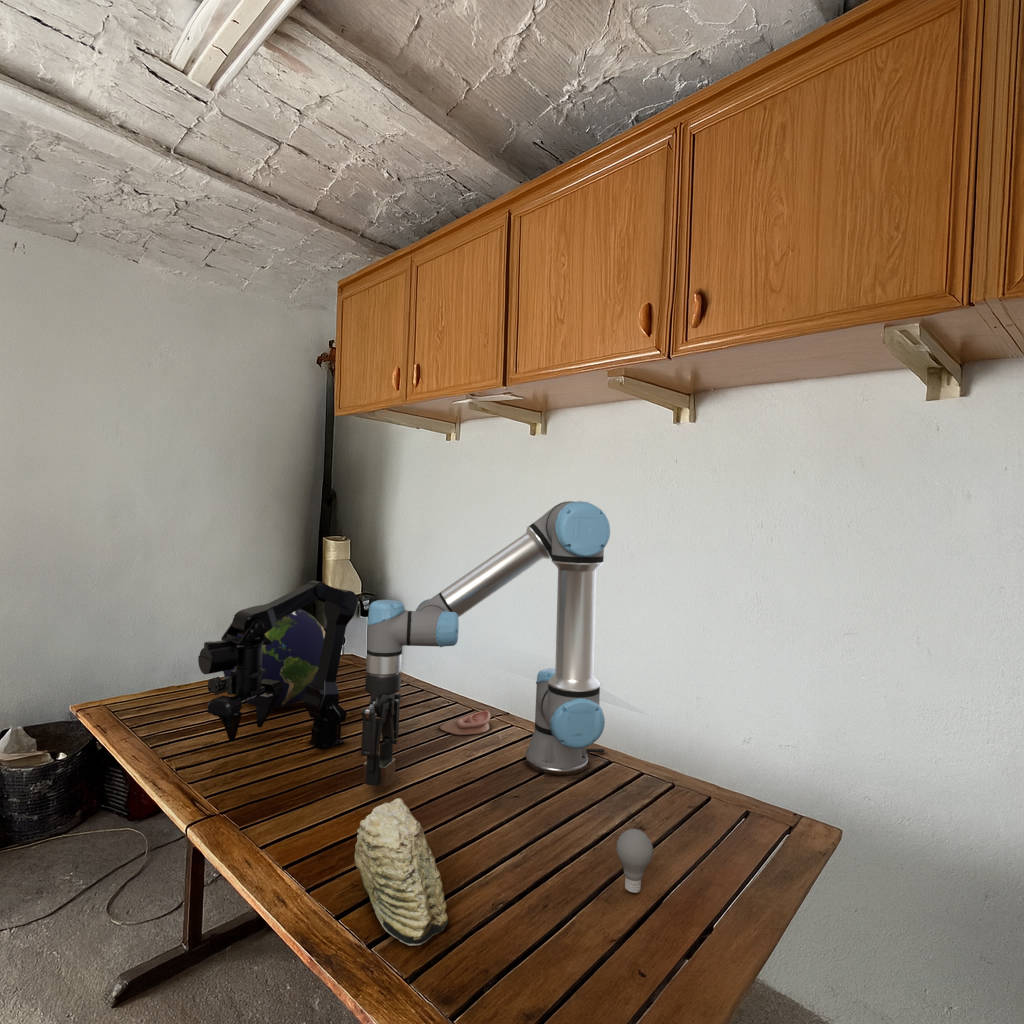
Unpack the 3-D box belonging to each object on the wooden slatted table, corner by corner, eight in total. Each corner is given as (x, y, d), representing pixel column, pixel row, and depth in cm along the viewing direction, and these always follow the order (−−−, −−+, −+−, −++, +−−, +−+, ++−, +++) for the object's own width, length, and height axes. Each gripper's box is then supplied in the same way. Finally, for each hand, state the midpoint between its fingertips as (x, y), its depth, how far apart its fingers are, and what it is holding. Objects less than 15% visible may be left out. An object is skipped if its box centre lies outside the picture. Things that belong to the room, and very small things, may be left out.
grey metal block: (374, 773, 140) (374, 754, 140) (394, 777, 139) (395, 758, 139) (362, 783, 135) (363, 763, 135) (383, 787, 134) (384, 767, 134)
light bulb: (610, 879, 108) (613, 822, 108) (644, 879, 109) (647, 822, 109) (619, 902, 102) (622, 840, 102) (655, 901, 103) (658, 840, 103)
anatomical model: (436, 717, 173) (449, 704, 184) (436, 732, 173) (448, 718, 184) (483, 723, 170) (493, 709, 181) (483, 738, 170) (493, 723, 181)
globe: (289, 685, 209) (292, 594, 208) (348, 705, 191) (352, 606, 191) (199, 706, 185) (203, 604, 184) (258, 732, 167) (262, 619, 167)
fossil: (387, 871, 108) (391, 784, 108) (458, 926, 95) (462, 827, 95) (340, 893, 102) (344, 800, 101) (410, 955, 89) (414, 849, 88)
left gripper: (247, 652, 156) (244, 715, 156) (188, 671, 138) (185, 742, 138) (285, 658, 152) (283, 722, 153) (230, 678, 135) (227, 750, 135)
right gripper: (387, 660, 146) (383, 760, 147) (345, 681, 129) (341, 794, 130) (417, 664, 144) (412, 765, 145) (379, 685, 127) (374, 800, 127)
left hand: (246, 733), depth 145 cm, fingers open, 9 cm apart
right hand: (378, 779), depth 137 cm, fingers closed on grey metal block, 5 cm apart
